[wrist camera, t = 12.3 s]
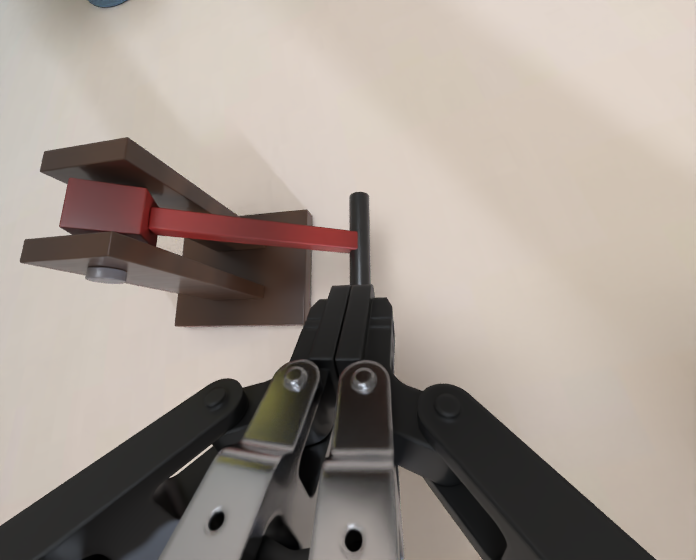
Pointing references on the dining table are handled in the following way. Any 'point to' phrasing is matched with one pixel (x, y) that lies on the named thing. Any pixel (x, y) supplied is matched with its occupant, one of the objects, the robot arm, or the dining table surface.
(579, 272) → the dining table surface
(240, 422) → the robot arm
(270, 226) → the lever handle
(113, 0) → the cocktail glass
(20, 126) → the dining table surface
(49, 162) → the rod stand
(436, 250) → the dining table surface
